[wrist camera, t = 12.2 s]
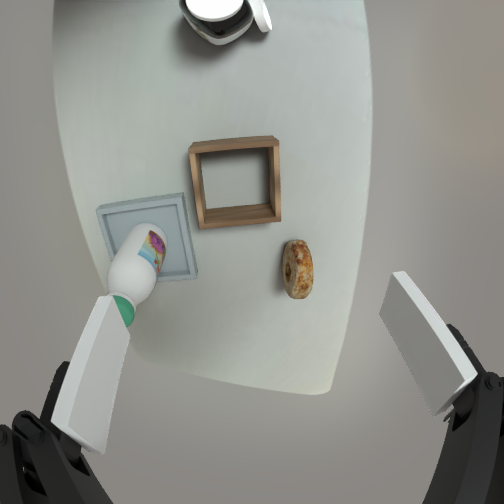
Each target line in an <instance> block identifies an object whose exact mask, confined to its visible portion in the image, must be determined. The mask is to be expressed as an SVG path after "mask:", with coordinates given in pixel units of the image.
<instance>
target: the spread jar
mask: <svg viewBox="0 0 504 504" xmlns="http://www.w3.org/2000/svg"><path fill="white" fill-rule="evenodd" d="M179 6H180V9H181V11H182V12H183V14H184V16H185V18H186V19H187V21H188V22H189V24H190V25H191V26H192V28H193V29H194V30H195V31H196V32H197V33H198V34H199V35H200V36H201V37H203V38H204V39H206V40H207V41H209V42H211V43H213V44H215V45H224V44H227V43H229V42H231V41H233V40H235V39H236V38H238V37H239V36H241V35H242V34H243V33H244V32H245V31H246V30H247V29H248V28H249V27H250V26H251V23H252V21H253V16H254V18H255V20H256V23H257V25H258V27H259V29H260V30H261V31H262V32H266V31H271V30H272V25H271V20H270V17H269V14H268V11H267V8H266V5H265V3H264V1H263V0H249V2H248V0H180V1H179Z"/></svg>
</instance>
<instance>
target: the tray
mask: <svg viewBox="0 0 504 504" xmlns="http://www.w3.org/2000/svg"><path fill="white" fill-rule="evenodd" d="M96 214H97V217H98V221H99V224H100V228H101V231H102V234H103V237H104V241H105V244H106V247H107V250H108V253H109V256H110V259H111V262H112V261H113V259H114V257H115V255H116V253H117V252H118V250H119V248H120V246H121V245H122V243H123V241H124V240H125V238H126V237H127V235H128V233H129V232H130V230H131V229H132V228H133V227H134V226H136V225H138V224H141V223H151V224H154V225H156V226H158V227H159V228H160V229H162V231H163V232H164V233H165V235H166V237H167V241H168V247H167V251H166V254H165V257H164V260H163V263H162V266H161V269H160V272H159V275H158V278H157V281H156V282H159V281H172V280H184V279H195V278H197V272H198V271H197V265H196V260H195V255H194V250H193V245H192V239H191V234H190V228H189V222H188V216H187V210H186V204H185V198H184V193H176V194H168V195H161V196H154V197H147V198H141V199H134V200H128V201H122V202H116V203H111V204H105V205H100V206H99V207H98V208H97V209H96Z"/></svg>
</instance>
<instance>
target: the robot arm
mask: <svg viewBox="0 0 504 504" xmlns="http://www.w3.org/2000/svg"><path fill="white" fill-rule="evenodd" d="M379 315H380V316H381V318H382V320H383V322H384V323H385V325H386V327H387V329H388V331H389V332H390V334H391V336H392V337H393V339H394V341H395V343H396V345H397V347H398V349H399V351H400V352H401V354H402V356H403V358H404V360H405V362H406V364H407V366H408V367H409V369H410V371H411V373H412V375H413V377H414V379H415V381H416V383H417V385H418V387H419V389H420V391H421V393H422V395H423V398H424V399H425V402H426V404H427V406H428V408H429V410H430V412H431V415H432V416H435V415H437V414H440V413H441V412H444V411H446V410H447V408H448V407H449V406H450V405H451V404H453V406H454V409H453V410H452V411H451V412H450V413H449V414H448V415H447V416H446V417H445V418H444V420H443V421H444V422H445V421H446V420H447V419H448V418H449V417H450V420H449V421H448V423H449V425H448V429H447V433H446V438H445V441H444V445H443V448H442V451H441V455H440V458H439V461H438V464H437V467H436V470H435V473H434V476H433V479H432V481H431V484H430V486H429V489H428V492H427V494H426V497H425V499H424V501H423V503H422V504H504V377H499V376H498V375H497V374H495V373H493V372H486V371H485V370H484V368H483V367H482V365H481V363H480V362H479V360H478V359H477V357H476V356H475V354H474V353H473V351H472V350H471V348H470V347H468V344H467V342H466V341H464V338H463V336H462V335H461V334H460V332H459V331H458V330H457V329H456V328H455V327H453V326H452V325H451V324H447V325H445V323H444V322H443V321H442V319H441V318H440V317H439V315H438V314H437V312H436V311H435V310H434V308H433V307H432V306H431V304H430V303H429V302H428V300H427V299H426V298H425V296H424V295H423V294H422V293H421V291H420V290H419V289H418V288H417V286H416V285H415V284H414V282H413V281H412V280H411V279H410V278H409V276H408V275H407V274H406V273H405V271H400V272H393V273H392V274H391V278H390V281H389V285H388V288H387V291H386V295H385V298H384V301H383V304H382V307H381V310H380V313H379ZM130 337H131V336H130V334H129V332H128V330H127V328H126V325H125V323H124V321H123V319H122V316H121V314H120V312H119V309H118V307H117V305H116V302H115V300H114V297H113V296H99V298H98V300H97V302H96V304H95V306H94V308H93V310H92V313H91V315H90V317H89V319H88V321H87V324H86V326H85V328H84V330H83V333H82V335H81V337H80V340H79V342H78V345H77V347H76V350H75V352H74V354H73V357H72V360H71V362H67V361H64V362H63V363H62V364H61V365H60V367H59V368H58V369H57V370H56V374H55V376H54V379H53V382H52V384H51V386H50V390H49V392H48V395H47V398H46V401H45V404H44V407H43V410H42V413H41V416H40V419H38V418H37V417H36V416H35V415H34V414H33V413H31V412H30V411H26V410H25V411H21V412H19V413H18V414H17V415H16V416H15V417H14V419H13V422H12V430H11V429H10V428H9V427H7V426H6V425H2V424H1V425H0V504H113V502H112V501H111V500H110V498H109V497H108V495H107V494H106V492H105V491H104V489H103V488H102V486H101V484H100V483H99V481H98V480H97V478H96V477H95V475H94V473H93V471H92V470H91V468H90V466H89V464H88V463H87V461H86V459H85V457H84V455H83V454H82V453H81V447H83V448H85V449H86V450H87V451H89V452H93V453H98V454H103V455H105V449H106V442H107V436H108V431H109V425H110V420H111V415H112V410H113V406H114V401H115V396H116V392H117V387H118V383H119V379H120V375H121V371H122V367H123V363H124V359H125V355H126V351H127V348H128V344H129V341H130ZM23 467H24V471H23Z"/></svg>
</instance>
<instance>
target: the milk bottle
mask: <svg viewBox="0 0 504 504" xmlns="http://www.w3.org/2000/svg"><path fill="white" fill-rule="evenodd" d="M167 247H168V241H167V237H166V235H165V233H164V232H163V231H162V229H160V228H159V227H158V226H156V225H154V224H151V223H141V224H138V225H136V226H134V227H133V228H132V229H131V230H130V232H129V233H128V235H127V237H126V238H125V240H124V241H123V243H122V245H121V246H120V248H119V250H118V252H117V253H116V255H115V257H114V259H113V261H112V263H111V265H110V267H109V270H108V276H107V284H108V294H107V295H106V296H113V297H114V300H115V302H116V305H117V307H118V309H119V312H120V314H121V316H122V319H123V321H124V323H125V325H126V327H128V326H129V325H130V324H131V323H132V321H133V319H134V315H135V312H136V306H137V305H138V304H139V303H141V302H142V301H144V300H145V299H146V298H147V297H148V296H149V295H150V293H151V292H152V290H153V288H154V286H155V284H156V281H157V278H158V275H159V272H160V269H161V266H162V263H163V260H164V257H165V254H166V251H167Z"/></svg>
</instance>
